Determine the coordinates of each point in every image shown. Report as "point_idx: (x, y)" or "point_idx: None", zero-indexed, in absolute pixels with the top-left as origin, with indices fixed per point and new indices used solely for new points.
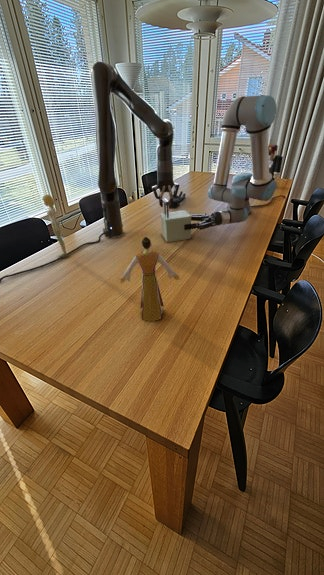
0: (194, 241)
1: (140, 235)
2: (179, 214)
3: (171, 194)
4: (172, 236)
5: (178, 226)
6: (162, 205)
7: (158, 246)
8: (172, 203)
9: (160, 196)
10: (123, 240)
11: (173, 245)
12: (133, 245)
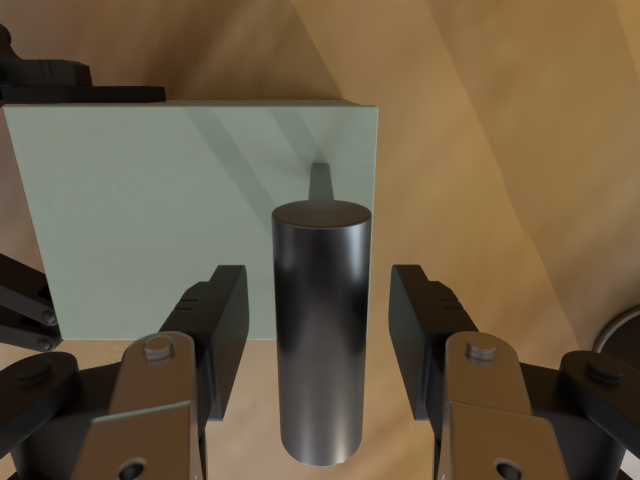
0: (121, 31)
1: (492, 286)
2: (150, 226)
3: (145, 405)
4: (294, 100)
5: (217, 102)
6: (405, 274)
7: (432, 44)
8: (199, 290)
9: (520, 391)
10: (635, 246)
11: (311, 17)
12: (604, 136)
